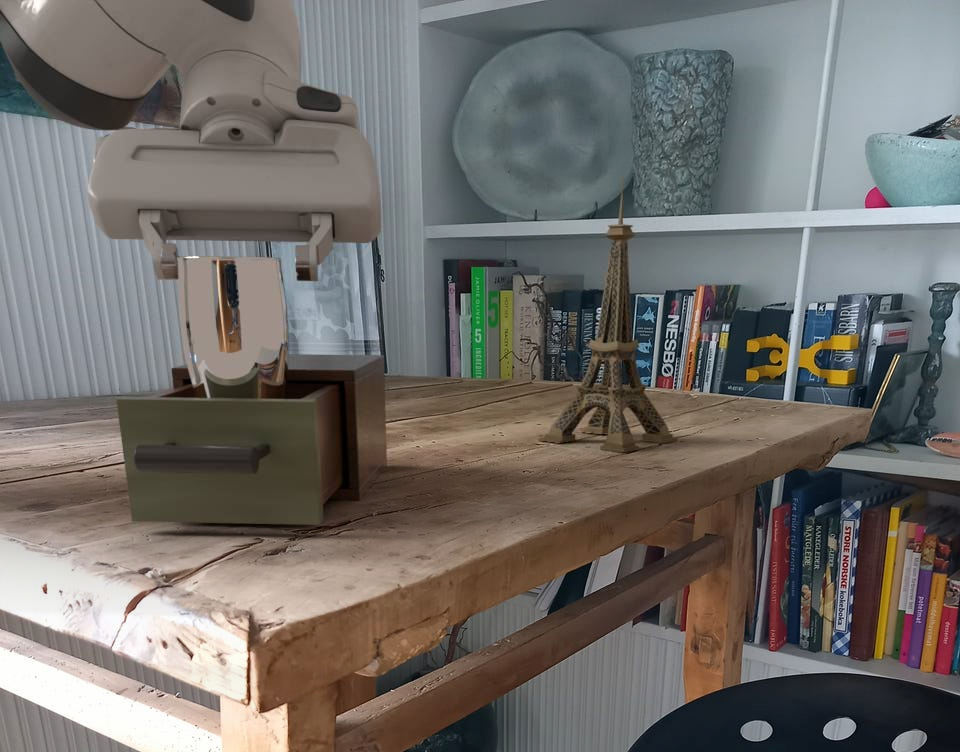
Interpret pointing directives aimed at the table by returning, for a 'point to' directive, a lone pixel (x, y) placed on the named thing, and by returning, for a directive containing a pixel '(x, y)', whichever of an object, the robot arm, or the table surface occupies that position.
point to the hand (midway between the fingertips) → (237, 273)
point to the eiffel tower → (613, 366)
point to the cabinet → (345, 410)
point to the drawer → (234, 455)
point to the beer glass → (234, 326)
